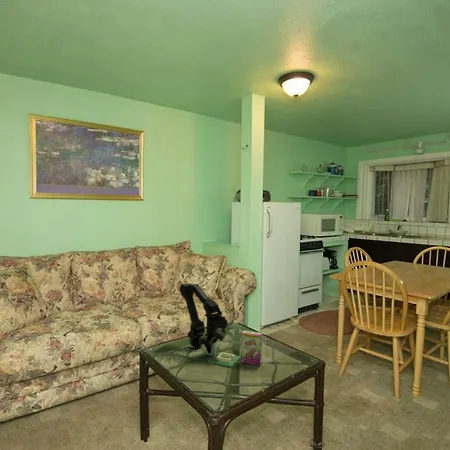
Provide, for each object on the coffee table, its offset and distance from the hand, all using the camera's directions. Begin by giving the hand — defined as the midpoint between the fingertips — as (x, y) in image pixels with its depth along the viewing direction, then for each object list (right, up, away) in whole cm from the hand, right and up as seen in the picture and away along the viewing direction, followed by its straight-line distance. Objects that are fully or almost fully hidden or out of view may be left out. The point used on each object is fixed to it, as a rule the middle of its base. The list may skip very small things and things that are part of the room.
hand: (210, 351), depth 183 cm
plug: (0, -1, 0) cm, 1 cm away
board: (+8, -1, -9) cm, 12 cm away
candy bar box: (+22, -2, -11) cm, 25 cm away
